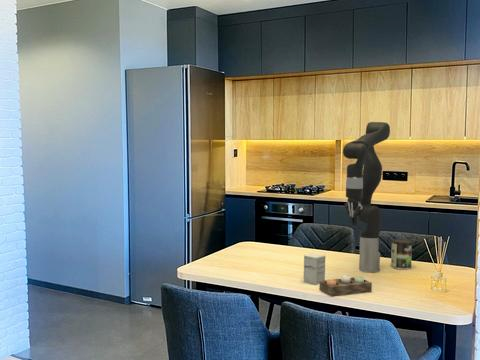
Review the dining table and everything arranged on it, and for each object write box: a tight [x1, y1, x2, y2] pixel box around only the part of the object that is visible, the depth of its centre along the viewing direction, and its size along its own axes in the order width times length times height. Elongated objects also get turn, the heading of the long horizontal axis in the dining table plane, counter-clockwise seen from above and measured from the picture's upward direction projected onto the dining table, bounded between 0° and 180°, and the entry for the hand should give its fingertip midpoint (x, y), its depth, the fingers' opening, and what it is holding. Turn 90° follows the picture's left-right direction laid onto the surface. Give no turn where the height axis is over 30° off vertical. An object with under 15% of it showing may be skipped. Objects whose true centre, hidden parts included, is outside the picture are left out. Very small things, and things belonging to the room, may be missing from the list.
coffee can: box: [390, 238, 413, 271], centre depth 249 cm, size 10×10×14 cm
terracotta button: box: [327, 279, 336, 286], centre depth 206 cm, size 4×4×3 cm
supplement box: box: [303, 252, 326, 285], centre depth 222 cm, size 7×7×13 cm
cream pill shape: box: [340, 274, 351, 284], centre depth 208 cm, size 4×4×3 cm
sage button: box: [355, 276, 365, 282], centre depth 211 cm, size 4×4×3 cm
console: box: [318, 276, 373, 297], centre depth 209 cm, size 20×10×4 cm, turn 110°
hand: (353, 224), depth 219 cm, fingers closed
